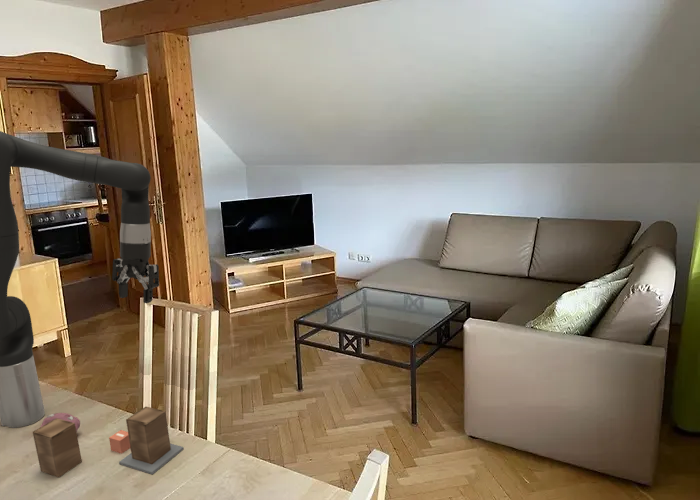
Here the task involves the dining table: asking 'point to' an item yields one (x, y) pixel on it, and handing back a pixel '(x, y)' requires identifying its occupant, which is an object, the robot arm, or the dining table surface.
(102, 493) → the dining table surface
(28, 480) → the dining table surface
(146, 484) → the dining table surface
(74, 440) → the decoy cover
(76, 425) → the video game controller
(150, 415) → the brown rectangular block
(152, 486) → the dining table surface
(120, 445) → the red cube
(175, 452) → the slate mat
